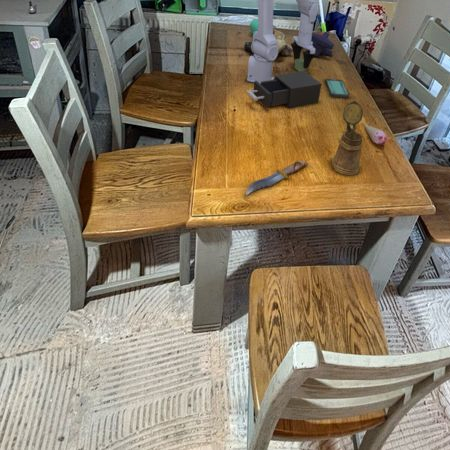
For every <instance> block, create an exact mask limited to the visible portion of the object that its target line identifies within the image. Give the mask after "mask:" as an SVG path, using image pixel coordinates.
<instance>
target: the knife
mask: <svg viewBox="0 0 450 450" xmlns="http://www.w3.org/2000/svg"><path fill="white" fill-rule="evenodd" d="M307 165H309V163H308V161H303V160H300V159H298V160H296V161H295V162H294V163H292V164H290V165H287V166H286V167H285V168H283V169H279V168H277V169H276V171H275V172H274V173H272V174H270V175H268V176H266V177H264V178H261V179H257V180H255V181H253V182H252V183H251V184H250V185H249V186H248V187H247V189H246V193H245V196H248V195H250V194H252V193H254V192H256V191H258V190H262V189H265V188H270V187H272V186H273V185H275V184H277V183H278V182H280V181H281V180H283V179H284V180H288V179H289V176H290V175H293V174H294V173H296V172H297V171H300V170H301V169H302V168H303V167H306V166H307Z"/></svg>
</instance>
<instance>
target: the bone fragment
mask: <svg viewBox="0 0 450 450" xmlns="http://www.w3.org/2000/svg"><path fill="white" fill-rule="evenodd" d="M292 53H293V49H292V46H291V44H289V43H286V46H285V48H284V49H283V50H282V51H281V52H280V54H281V55H282V56H290V55H291V54H292Z"/></svg>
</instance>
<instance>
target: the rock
mask: <svg viewBox="0 0 450 450" xmlns="http://www.w3.org/2000/svg"><path fill="white" fill-rule="evenodd" d="M252 41H253V40H251V41H246V42H245V43H244V46H243V49H244V50H246V51H248V52H249V53H250V54H252V55H254V53H253V52H252V49H251V45H252Z"/></svg>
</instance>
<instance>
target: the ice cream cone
mask: <svg viewBox="0 0 450 450" xmlns="http://www.w3.org/2000/svg"><path fill="white" fill-rule="evenodd" d="M364 127H365V130H366V132H367V135H368V136H369V138H370V140H371V141H372V142H373V143H374V144H375V145H382V146H386V142H387V135H386V133H385V132H384V131H383V130H382V129H379V128H378V127H374V126H371V125H367V124H364Z"/></svg>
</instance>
